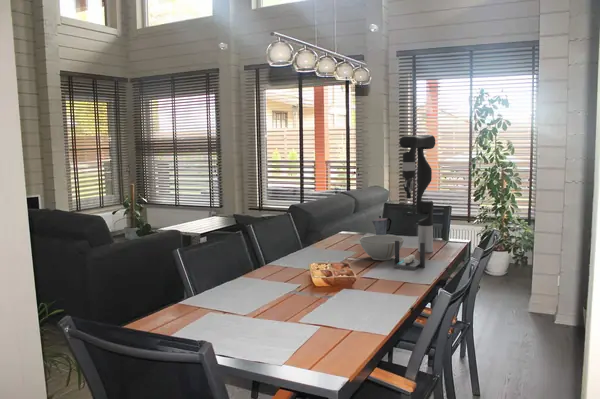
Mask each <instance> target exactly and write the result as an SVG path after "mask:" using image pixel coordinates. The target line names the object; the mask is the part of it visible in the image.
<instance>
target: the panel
mask: <svg viewBox="0 0 600 399" xmlns="http://www.w3.org/2000/svg"><path fill="white" fill-rule="evenodd" d="M400 268H401V270H402V269H403V270H408V271H409V270H410V271H416V270H418V269H420V259H415V260H413V261H410V263H405V262H404V258H403V259H401V260H399V262H398V263H396V264H395V263H394V269H400Z"/></svg>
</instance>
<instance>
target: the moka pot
mask: <svg viewBox="0 0 600 399" xmlns="http://www.w3.org/2000/svg"><path fill="white" fill-rule="evenodd" d="M388 221H389V223H388ZM392 221H393V220H392V218H390V217H385V218H382V216H381V215H378V218H376V219H375V218H374V219H373V220H372V221H371V222H372V224H373V225H374V230H375V235H388V234H387V232H389V231H390V230H391V226H392ZM387 224H389V225H388V229H387Z"/></svg>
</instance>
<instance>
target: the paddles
mask: <svg viewBox="0 0 600 399" xmlns="http://www.w3.org/2000/svg"><path fill="white" fill-rule="evenodd" d="M403 259H404V262H405V263H410V261H413V260H416V256H415V254H408V255H406V257H403Z"/></svg>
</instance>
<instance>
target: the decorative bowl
mask: <svg viewBox="0 0 600 399" xmlns="http://www.w3.org/2000/svg"><path fill="white" fill-rule="evenodd" d="M395 241H399V251H400V250H401V249H402V247H403V244H404V241H405V238H403V237H402V236H399V235H398V236H397V235H390V234H389V235H388V234H387V235H376V234H375V235H374V234H373V235H366V236H362V237H360V238H359V242H360V246H361V248H362V249H363V250H364V252H365V253H366V254H367V255H368V256H370V257H371V259H372V260H374V261H390V260H391V259H392V258H393V257H395Z"/></svg>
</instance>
